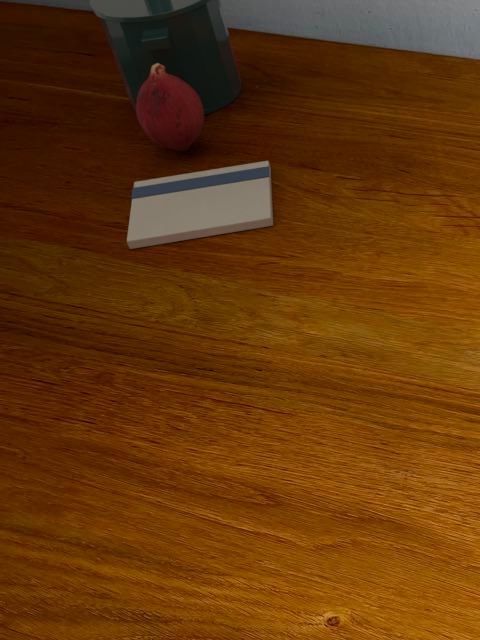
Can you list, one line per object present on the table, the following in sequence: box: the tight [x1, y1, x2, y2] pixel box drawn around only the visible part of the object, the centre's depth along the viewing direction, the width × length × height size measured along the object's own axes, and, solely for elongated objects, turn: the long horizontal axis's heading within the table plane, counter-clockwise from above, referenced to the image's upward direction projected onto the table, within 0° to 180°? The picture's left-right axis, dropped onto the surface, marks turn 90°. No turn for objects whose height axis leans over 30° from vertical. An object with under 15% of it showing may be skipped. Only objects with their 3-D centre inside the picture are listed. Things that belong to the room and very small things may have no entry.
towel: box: [126, 160, 274, 250], centre depth 91 cm, size 12×10×1 cm
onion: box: [135, 63, 205, 153], centre depth 96 cm, size 6×6×8 cm
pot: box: [99, 0, 243, 116], centre depth 103 cm, size 11×16×10 cm
